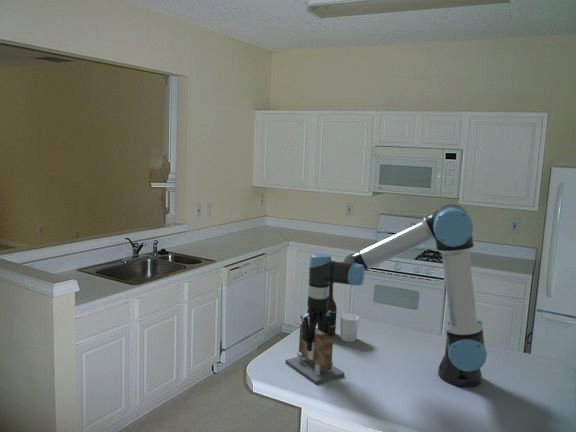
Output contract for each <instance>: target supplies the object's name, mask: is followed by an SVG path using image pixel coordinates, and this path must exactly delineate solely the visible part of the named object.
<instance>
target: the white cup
mask: <svg viewBox="0 0 576 432" xmlns="http://www.w3.org/2000/svg"><path fill="white" fill-rule="evenodd" d="M359 321H360V316H358V315H356V314H354V313H343V314H341V315H340V339H341V340H342V341H344V342H347V343H353V342H355V341H357V336H358V333H359V331H358V329H359Z"/></svg>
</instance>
